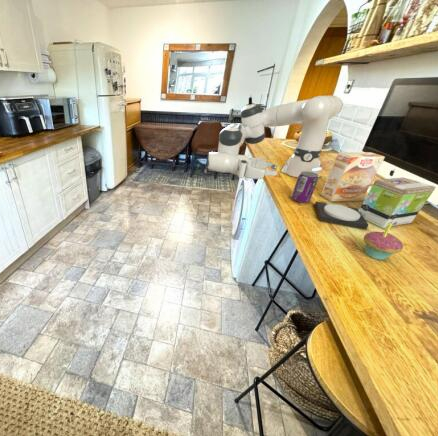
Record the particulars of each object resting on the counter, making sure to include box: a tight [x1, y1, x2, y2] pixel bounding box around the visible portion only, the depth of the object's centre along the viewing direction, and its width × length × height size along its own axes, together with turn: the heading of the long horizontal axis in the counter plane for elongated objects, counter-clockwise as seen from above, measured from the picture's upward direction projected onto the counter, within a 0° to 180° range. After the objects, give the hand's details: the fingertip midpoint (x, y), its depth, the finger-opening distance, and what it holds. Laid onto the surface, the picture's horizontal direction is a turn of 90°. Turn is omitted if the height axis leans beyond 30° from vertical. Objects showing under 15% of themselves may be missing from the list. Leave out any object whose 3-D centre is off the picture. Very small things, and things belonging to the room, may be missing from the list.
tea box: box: [358, 176, 436, 229], centre depth 86 cm, size 15×10×15 cm, turn 107°
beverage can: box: [290, 171, 319, 204], centre depth 100 cm, size 7×7×12 cm
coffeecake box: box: [320, 151, 386, 203], centre depth 101 cm, size 15×7×20 cm, turn 95°
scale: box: [313, 201, 369, 231], centre depth 90 cm, size 14×14×3 cm
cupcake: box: [363, 221, 404, 261], centre depth 68 cm, size 9×8×12 cm
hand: (276, 169), depth 102 cm, fingers open, 8 cm apart
